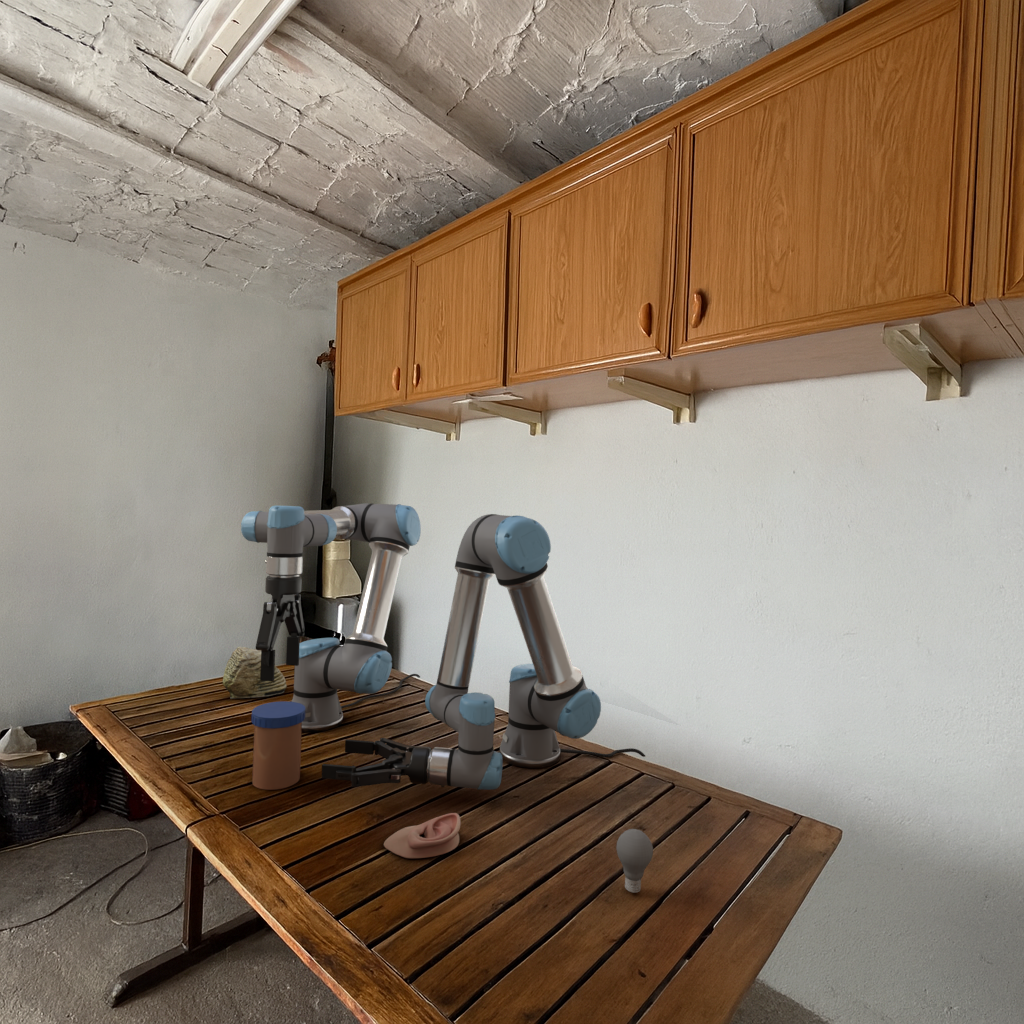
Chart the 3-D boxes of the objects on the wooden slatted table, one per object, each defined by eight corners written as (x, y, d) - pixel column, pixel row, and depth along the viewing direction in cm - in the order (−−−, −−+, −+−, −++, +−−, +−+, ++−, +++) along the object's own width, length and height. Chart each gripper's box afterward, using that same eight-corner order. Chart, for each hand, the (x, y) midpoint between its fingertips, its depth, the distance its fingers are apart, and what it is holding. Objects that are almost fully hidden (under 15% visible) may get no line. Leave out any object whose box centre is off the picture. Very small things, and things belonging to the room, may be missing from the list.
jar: (289, 791, 136) (292, 720, 135) (244, 788, 136) (246, 717, 136) (306, 771, 146) (309, 705, 145) (263, 768, 146) (266, 702, 146)
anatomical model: (377, 831, 113) (401, 802, 124) (376, 853, 113) (400, 822, 124) (448, 842, 110) (466, 811, 122) (447, 865, 111) (465, 832, 122)
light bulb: (610, 879, 108) (613, 822, 108) (644, 879, 109) (647, 822, 109) (619, 902, 102) (622, 840, 102) (655, 901, 103) (658, 840, 103)
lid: (294, 730, 135) (294, 719, 135) (242, 727, 135) (242, 716, 135) (312, 712, 146) (312, 702, 146) (264, 709, 146) (264, 700, 146)
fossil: (218, 695, 195) (220, 647, 195) (278, 685, 208) (279, 640, 207) (228, 703, 189) (230, 653, 188) (289, 692, 201) (290, 645, 201)
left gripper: (290, 568, 152) (287, 657, 153) (240, 581, 128) (236, 687, 129) (321, 570, 152) (317, 659, 152) (276, 583, 128) (272, 689, 128)
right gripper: (415, 811, 124) (310, 801, 126) (441, 759, 149) (353, 752, 150) (417, 773, 124) (312, 764, 126) (442, 727, 148) (354, 721, 150)
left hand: (280, 672), depth 140 cm, fingers open, 12 cm apart
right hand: (334, 757), depth 138 cm, fingers open, 13 cm apart
